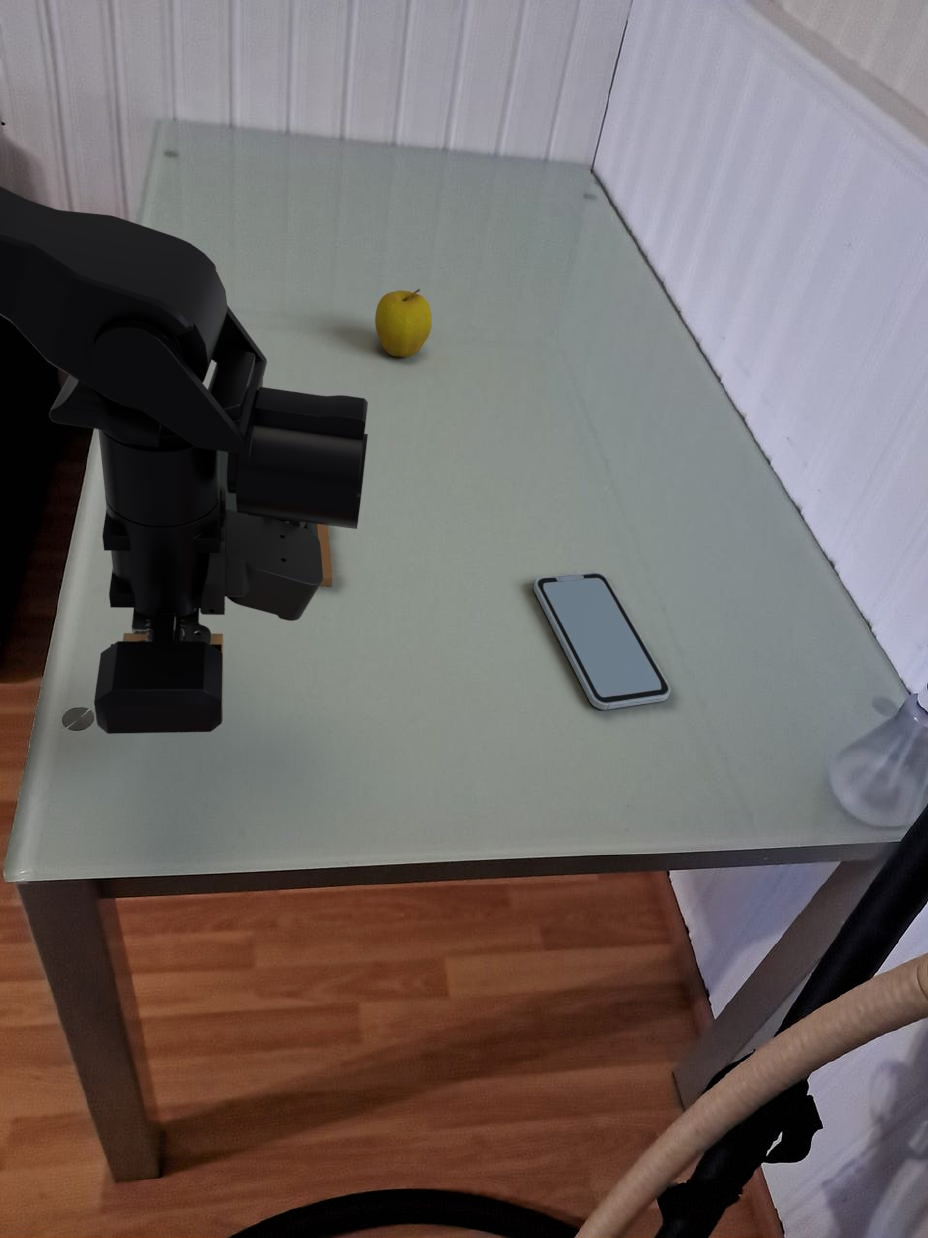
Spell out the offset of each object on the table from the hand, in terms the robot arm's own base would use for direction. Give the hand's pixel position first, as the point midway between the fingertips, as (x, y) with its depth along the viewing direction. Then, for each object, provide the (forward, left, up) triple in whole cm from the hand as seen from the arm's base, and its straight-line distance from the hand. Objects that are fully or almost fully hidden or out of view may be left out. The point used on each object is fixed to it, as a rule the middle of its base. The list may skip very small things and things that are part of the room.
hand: (173, 688), depth 61 cm
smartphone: (+23, +28, -9) cm, 38 cm away
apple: (-11, +62, -9) cm, 64 cm away
